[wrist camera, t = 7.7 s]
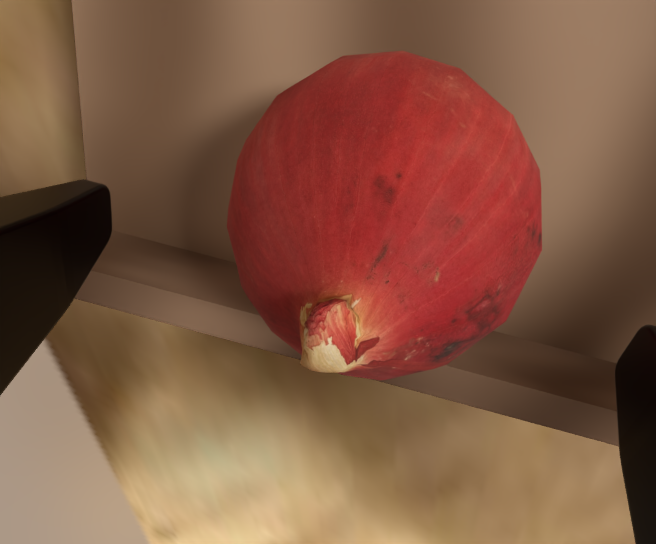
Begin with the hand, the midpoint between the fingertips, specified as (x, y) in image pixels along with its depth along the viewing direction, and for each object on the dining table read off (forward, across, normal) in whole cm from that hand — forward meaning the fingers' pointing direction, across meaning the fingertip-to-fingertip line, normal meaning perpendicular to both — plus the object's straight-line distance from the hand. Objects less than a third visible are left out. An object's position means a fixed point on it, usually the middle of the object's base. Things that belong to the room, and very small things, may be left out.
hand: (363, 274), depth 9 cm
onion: (+6, 0, 0) cm, 6 cm away
